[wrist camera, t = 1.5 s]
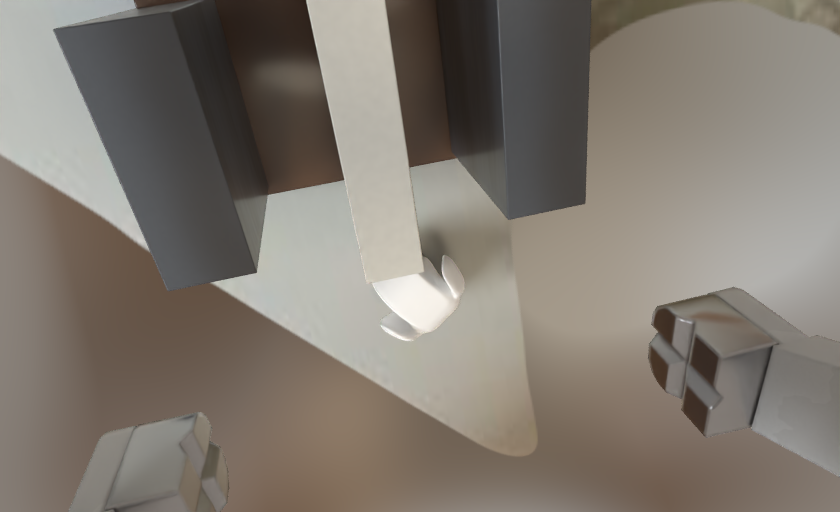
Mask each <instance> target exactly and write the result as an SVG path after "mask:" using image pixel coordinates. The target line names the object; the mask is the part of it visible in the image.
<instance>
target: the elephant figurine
mask: <svg viewBox="0 0 840 512" xmlns="http://www.w3.org/2000/svg"><path fill="white" fill-rule="evenodd" d="M422 257H423V264H424V272H421V273H416V274H412V275H407V276H403V277H398V278H393V279H389V280H384V281H380V282H375V283H372V284H373V286H374V289H375V290H376V292H377V293H378V295H379V296H380V297H381V299H382V300H383V301H384V302H385V303H386V304H387V305H388V306H389V307H390V308H391V309H392V310H393V311H394V312H391V313H389V314H388V315H387V316H385V317H383V318H382V319H381V320H380V326H381V327H382V328H383V330H384V331H386V332H387V333H389V334H390V335H392V336H394V337H396V338H399V339H401V340H404V341H413V340H415V339H416V338H418V337H419V336H420V335H422V334H423V333H426V332H431V331H434V330H435V329H436V328H438V327H439V326H440V325H441V324H442V323H443V321H444V320H445V319H446V318H447V317H448V316H450V315H451V314H452V313H453V312H454V311H455V310H456V309H457V307H458V306H459V303H460V296H461V294H462V293H463V292H464V289H465V281H464V278H463V276H462V274H461V272H460V270H459V268H458V267H457V265H456V264H455V262H454V261H453V260H452V259H451V258H450V257H448V256H447V255H443V257H442V274H443V277H444V278H442V277H441V276H440V275H439V273H438V272H437V271H436V269H435V268H434V266H433V265H432V263H431V262H430V260H429V259H428V258H427V257H424V256H422Z"/></svg>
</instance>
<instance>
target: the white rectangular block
mask: <svg viewBox="0 0 840 512" xmlns="http://www.w3.org/2000/svg"><path fill="white" fill-rule="evenodd" d="M306 2H307V7H308V12H309V16H310V21H311V26H312V30H313V35H314V40H315V44H316V49H317V54H318V59H319V63H320V68H321V73H322V77H323V82H324V87H325V91H326V96H327V101H328V106H329V110H330V115H331V120H332V124H333V129H334V134H335V138H336V143H337V148H338V152H339V157H340V162H341V167H342V171H343V176H344V181H345V185H346V190H347V195H348V199H349V204H350V209H351V213H352V218H353V223H354V227H355V232H356V237H357V242H358V246H359V251H360V256H361V260H362V265H363V270H364V274H365V279H366V283H367V284H370V283H375V282H380V281H384V280H389V279H393V278H398V277H403V276H407V275H412V274H416V273H421V272H424V264H423V257H422V250H421V243H420V236H419V230H418V223H417V216H416V209H415V202H414V195H413V188H412V182H411V175H410V168H409V161H408V154H407V147H406V141H405V134H404V127H403V120H402V113H401V106H400V99H399V93H398V86H397V79H396V72H395V65H394V58H393V51H392V45H391V38H390V31H389V24H388V17H387V10H386V4H385V0H306Z"/></svg>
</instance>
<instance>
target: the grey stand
mask: <svg viewBox="0 0 840 512" xmlns="http://www.w3.org/2000/svg"><path fill="white" fill-rule="evenodd" d="M134 3H135V5H136V9H132V10H128V11H124V12H120V13H116V14H112V15H108V16H104V17H100V18H96V19H92V20H88V21H84V22H80V23H76V24H72V25H68V26H64V27H60V28H56V29H53V31H54V33H55V36H56V38H57V40H58V42H59V45H60V47H61V49H62V51H63V54H64V56H65V58H66V61H67V63H68V65H69V67H70V70H71V72H72V74H73V77H74V79H75V81H76V83H77V86H78V88H79V90H80V92H81V95H82V97H83V99H84V102H85V104H86V106H87V108H88V111H89V113H90V115H91V118H92V120H93V122H94V124H95V127H96V129H97V131H98V133H99V136H100V138H101V140H102V143H103V145H104V147H105V149H106V152H107V154H108V156H109V158H110V161H111V163H112V165H113V168H114V170H115V172H116V174H117V177H118V179H119V181H120V184H121V186H122V188H123V190H124V193H125V195H126V197H127V199H128V202H129V204H130V206H131V209H132V211H133V213H134V215H135V218H136V220H137V222H138V225H139V227H140V229H141V231H142V234H143V236H144V238H145V240H146V243H147V245H148V247H149V250H150V252H151V254H152V256H153V259H154V261H155V263H156V266H157V268H158V270H159V272H160V275H161V277H162V279H163V281H164V284H165V286H166V288H167V290H168V291H172V290H176V289H181V288H186V287H191V286H195V285H201V284H205V283H210V282H215V281H220V280H224V279H229V278H234V277H239V276H243V275H248V274H253V273H257V267H258V260H259V253H260V246H261V239H262V231H263V224H264V217H265V210H266V203H267V195H269V194H274V193H280V192H285V191H290V190H295V189H300V188H305V187H311V186H316V185H321V184H326V183H331V182H336V181H341V180H344V176H343V171H342V167H341V162H340V157H339V152H338V148H337V143H336V138H335V134H334V129H333V124H332V120H331V115H330V110H329V106H328V101H327V96H326V91H325V87H324V82H323V77H322V73H321V68H320V63H319V59H318V54H317V49H316V44H315V40H314V35H313V30H312V26H311V21H310V16H309V12H308V7H307V2H306V0H134ZM385 4H386V10H387V17H388V24H389V31H390V38H391V45H392V51H393V58H394V65H395V72H396V79H397V86H398V93H399V99H400V106H401V113H402V120H403V127H404V134H405V141H406V147H407V154H408V161H409V167H414V166H419V165H424V164H429V163H434V162H439V161H445V160H450V159H455V158H457V159H458V160H459V161H460V162H461V164H462V165H463V166H464V167H465V168H466V170H467V171H468V172H469V173H470V174H471V176H472V177H473V178H474V179H475V180H476V182H477V183H478V184H479V185H480V186H481V188H482V189H483V190H484V191H485V192H486V194H487V195H488V196H489V197H490V198H491V200H492V201H493V202H494V203H495V204H496V206H497V207H498V208H499V209H500V210H501V212H502V213H503V214H504V215H505V217H506V218H507V219H508V220H510V219H515V218H519V217H524V216H529V215H534V214H538V213H543V212H548V211H553V210H557V209H563V208H567V207H572V206H577V205H582V204H585V197H586V164H587V162H586V161H587V130H588V97H589V95H588V94H589V61H590V28H591V0H385Z"/></svg>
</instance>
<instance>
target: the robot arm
mask: <svg viewBox="0 0 840 512" xmlns="http://www.w3.org/2000/svg"><path fill="white" fill-rule="evenodd" d="M652 326H653V327H654V328H655V329H656V330H657V331H658V333H657V334H656V335H655V337H654V338H653V339H652V341H651V342H650V343H649V355H648V359H649V362H650V366H651V370H652V373H653V375H654V377H655V378H656V380H657V382H658V383H659V385H660V386H661V387H662V388H663V389H664V390H665V392H667V393H669V394H671V395H673V396H676V397H678V398H680V399H682V403H681V404H682V405H681V410H682V411H683V412H684V414H685V415H686V416H687V417H688V418H689V419H690V420H691V421H692V423H693V424H694V425H695V426H696V427H697V428H698V429H699V431H700V432H701V433H702V434H703V435H704V436H705V437H706V438H707V437H711V436H715V435H719V434H723V433H728V432H732V431H736V430H741V429H745V428H749V427H752V429H751V430H753V431H755V432H757V433H759V434H760V435H762V436H764V437H766V438H768V439H770V440H772V441H773V442H775V443H777V444H779V445H781V446H783V447H785V448H786V449H788V450H790V451H792V452H794V453H796V454H798V455H799V456H801V457H803V458H805V459H807V460H809V461H811V462H812V463H814V464H816V465H818V466H820V467H822V468H824V469H826V470H827V471H829V472H831V473H833V474H835V475H837V476H839V477H840V342H838V341H835V340H832V339H828V338H825V337H821V336H818V335H816V336H812V337H808V336H807V335H805V334H804V333H803V332H801V331H800V330H798V329H797V328H796V327H794V326H793V325H791V324H790V323H789V322H787V321H786V320H784V319H783V318H782V317H780V316H779V315H777V314H776V313H775V312H773V311H772V310H770V309H769V308H767V307H766V306H765V305H764V304H762V303H761V302H759V301H758V300H756V299H755V298H754V297H752V296H751V295H749V294H748V293H747V292H745V291H744V290H742V289H738V288H735V287H732V288H728V289H724V290H720V291H716V292H712V293H708V294H707V295H702V296H698V297H694V298H690V299H686V300H681V301H677V302H673V303H669V304H665V305H661V306H657V307H656V309H655V311H654V313H653V317H652ZM211 431H212V427H211V425H210V423H209V422H208V419H207V417H206V415H205V414H203V413H200V412H198V413H193V414H188V415H183V416H179V417H174V418H169V419H164V420H159V421H154V422H150V423H145V424H140V425H138V426H133V427H129V428H124V429H119V430H114V431H109V432H107V433H106V434H104V435H103V436H102V437H101V438H100V440H99V441H98V443H97V446H96V448H95V450H94V453H93V455H92V457H91V460H90V462H89V464H88V467H87V469H86V471H85V474H84V476H83V478H82V481H81V483H80V486H79V488H78V490H77V492H76V495H75V497H74V499H73V502H72V504H71V506H70V509H69V511H68V512H221V510H222V509H223V508H224V506H225V505H226V504H227V501H228V490H229V480H228V468H227V464H226V460H225V456H224V454H223V452H222V449H221V447H220V446H218V445H216V444H214V443H213V442H211V441H210V436H211Z"/></svg>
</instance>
